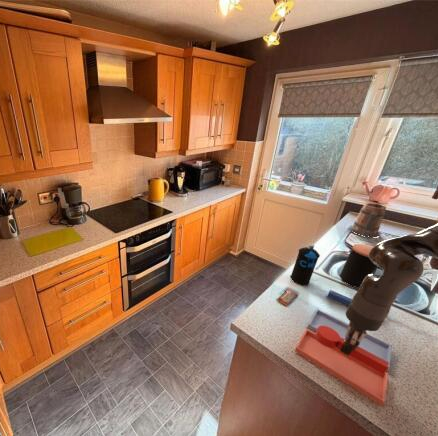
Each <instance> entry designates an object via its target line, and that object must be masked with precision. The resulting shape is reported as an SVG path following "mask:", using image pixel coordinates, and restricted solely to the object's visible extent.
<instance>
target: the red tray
mask: <svg viewBox="0 0 438 436" xmlns="http://www.w3.org/2000/svg"><path fill="white" fill-rule="evenodd" d="M315 333H316V332H314V331H312V330H311V329H309V328H305V330H304V331H303V333H302V335H301V337H300V339H299V341H298V343H297V345H296V347H295V349H294V352H296V353H297V354H298V355H300V356H302V357H303V358H305V359H306V360H308V361H310V362H311V363H313V364H314V365H316V366H318V367H319V368H321V369H322V370H324V371H325V372H327V373H328V374H330V375H332V376H333V377H335V378H336V379H338V380H340V381H341V382H343V383H344V384H346V385H348V386H350V387H351V388H353V389H354V390H356V391H357V392H358V393H360V394H362V395H364V396H365V397H366V398H368V399H370V400H372V401H373V402H375V403H376V404H378V405H379V406H381V407H383V406H384V404H385V403H386V397H387V396H386V395H387V390H388V389H387V388H388V381H389V373H388V372H387V371H385V373H384V374H382V373H380V372H378V371H376V370H375V369H373V368H371V367H369V366H367V365H366V364H364V363H362V362H360V361H358V360H357V359H355V358H353V357H351V356H350V355H346V354H344V353H342V352H341V351H340V350H339V349H337V347H335V348H329V347H326V346H324V345H322V344H321V343H320V342H319V341H318V340H317V339H316V337H315Z"/></svg>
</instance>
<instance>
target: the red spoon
mask: <svg viewBox="0 0 438 436" xmlns="http://www.w3.org/2000/svg"><path fill="white" fill-rule="evenodd" d="M314 333H315V337H316V339H317V340H318V341H319V342H320V343H321V344H322V345H324V346H326V347H329V348H335V347H337V349H339V350H341V347H342V346H343V343H344V341H345V339H344V338H342V337H341V338H340V335H339V334H338V333H337V332H336V331H335V330H334V329H332V328H330V327H327V326H319V327H318V329H317V331H316V332H314ZM350 356H351V357H353V358H355V359H357V360H358V361H360V362H362V363H364V364H366V365H367V366H369V367H371V368H373V369H375V370H376V371H378V372H380V373H382V374H384V373H385V372H387V371H388V370H389V369H388V364H389V362H387V361H385V360H383V359H381V358H380V357H378V356H376V355H374V354H372V353H370V352H368V351H366V350H364V349H363V348H361V347H359V346H358V347H357V348H356V349H355V350H354V351H351V353H350ZM387 369H388V370H387ZM386 370H387V371H386Z"/></svg>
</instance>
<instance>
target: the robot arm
mask: <svg viewBox="0 0 438 436" xmlns="http://www.w3.org/2000/svg"><path fill="white" fill-rule="evenodd" d="M372 247H373V248H372V249H371V250H370V252H369V258H370V260H371V261H372V262H373V263H374V264H375V265H376V266H377V267H378V268H377V269H380V271H382V274H378V273H374V274H369V275H367V276H366V277H365V278H364V280H363V282H362V284H361V286H360V288H358V290H357V291H356V293H354V295H353V297H352V298H351V299H352V301H351V303H350V305H349V307H347V309H346V311H345V317H346V319H347V320H348V321H349V323H348V324H349V326H348V328H347V332H346V334H345V341H344V343H343V346H342V347H341V350H340V351H341V352H342V353H344V354H346V355H350V353H351V351H354V350H355V349H356V348H357V347H358V345H360V342H361V340H362V338H364V337H365V335H366V333H368V332H376V331H378V330H379V329H380V328H381V326H382V325H383V323H384V322H385V320H386V318H387V316H388V315H389V314H390V311H391V309H392V305H393V304H394V303H395V301H396V299H397V298H398V295H399V294H400V293H402V292H403V291H404V290H406V289H407V288H408V287H410V286H411V285H412V284H414V283H415V282H416V281H418V280H419V279H420V278H421V277H422V275H423V273H424V271H425V268H424V263H423V261H422V260H421V259H420V258H418V257H417V256H420V255H422V256H423V255H425V256H429V257H431V258H433V259H434V258H435V259H438V223H436V224H434V225H432V226H429V227H427V228H425V229H423V230H421V231H419V232H416V233H415V232H414V233H410V234H406V235H402V236H398V237H394V238H389V239H386V240H383V241H381V242H379V243H377V244H375V245H374V246H372ZM367 331H368V332H367Z"/></svg>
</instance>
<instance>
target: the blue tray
mask: <svg viewBox="0 0 438 436" xmlns="http://www.w3.org/2000/svg"><path fill="white" fill-rule="evenodd" d="M319 326H327V327H330V328H332V329H334V330H335V331H336V332H337V333H338V334H339V335H340V338H341V337H342V338H344V339H345V334H346V332H347V328H348V326H349V323H347V322H346V321H343V320H341V319H339V318H337V317H335V316H333V315H331V314H329V313H328V312H325V311H323V310H320V309H319V308H316V309H315V311H314V312H313V315H312V317H311V318H310V320H309V322H308V324H307V326H306V329H308V330H310V331H312V332H314V333H316V331H317V329H318V327H319ZM358 346H359V347H361V348H363V349H364V350H366V351H368V352H370V353H372V354H374V355H376V356H378V357H380V358H381V359H383V360H385V361H387V362H389V364H388V369H387V370H386V371H385V372H387V371H388V370H389V369H390V366H391V365H390V364H391V357H392V349H393V345H392V344H390V343H388V342H386V341H384V340H382V339H380V338H378V337H376V336H374V335H372V334H370V333H368V332H367V333H366V335H365V337H364V338H362V340H361V342H360V345H358Z"/></svg>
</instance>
